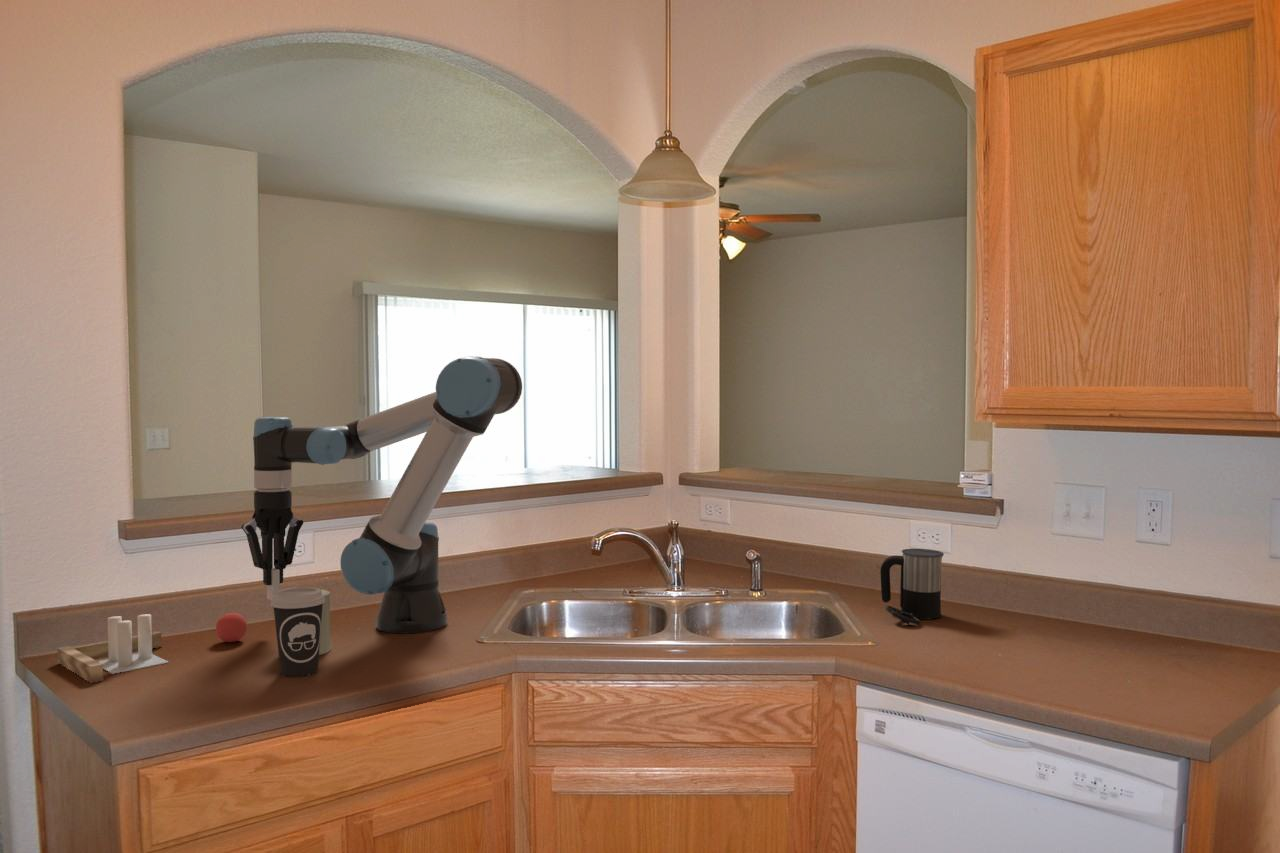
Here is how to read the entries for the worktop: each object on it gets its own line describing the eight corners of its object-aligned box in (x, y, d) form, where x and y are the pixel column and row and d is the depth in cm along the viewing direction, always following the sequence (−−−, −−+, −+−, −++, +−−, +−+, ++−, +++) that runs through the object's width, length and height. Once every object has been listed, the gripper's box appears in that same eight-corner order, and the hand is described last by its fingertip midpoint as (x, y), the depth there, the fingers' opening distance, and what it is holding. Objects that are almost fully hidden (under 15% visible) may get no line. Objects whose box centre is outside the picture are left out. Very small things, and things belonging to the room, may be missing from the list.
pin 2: (134, 666, 183) (133, 621, 182) (120, 669, 181) (119, 624, 181) (129, 663, 184) (128, 619, 184) (116, 666, 183) (115, 622, 182)
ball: (252, 641, 200) (252, 612, 200) (223, 647, 196) (223, 618, 196) (239, 636, 204) (239, 608, 204) (211, 642, 200) (210, 613, 200)
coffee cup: (336, 666, 183) (335, 587, 182) (308, 681, 173) (306, 598, 173) (291, 662, 185) (289, 585, 184) (260, 677, 175) (259, 595, 175)
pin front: (154, 658, 188) (153, 615, 187) (141, 661, 186) (140, 617, 186) (149, 656, 189) (148, 613, 189) (136, 659, 188) (135, 615, 187)
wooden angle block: (193, 661, 186) (193, 646, 185) (91, 683, 172) (90, 666, 172) (156, 645, 198) (156, 630, 198) (58, 663, 184) (57, 648, 184)
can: (272, 653, 191) (271, 593, 191) (308, 642, 199) (307, 585, 199) (306, 660, 187) (304, 598, 186) (341, 648, 195) (340, 589, 194)
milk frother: (936, 611, 226) (937, 548, 226) (956, 628, 210) (956, 560, 210) (875, 610, 227) (875, 547, 226) (890, 627, 211) (890, 560, 210)
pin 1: (124, 661, 186) (123, 617, 186) (111, 663, 184) (110, 619, 184) (120, 658, 188) (118, 615, 187) (106, 661, 186) (105, 617, 186)
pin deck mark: (168, 662, 185) (168, 661, 185) (112, 674, 178) (112, 673, 178) (144, 651, 193) (144, 650, 193) (89, 661, 186) (89, 660, 186)
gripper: (293, 485, 213) (293, 591, 214) (234, 490, 204) (235, 601, 205) (310, 488, 208) (310, 597, 209) (251, 493, 198) (251, 607, 200)
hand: (273, 599), depth 207 cm, fingers closed
